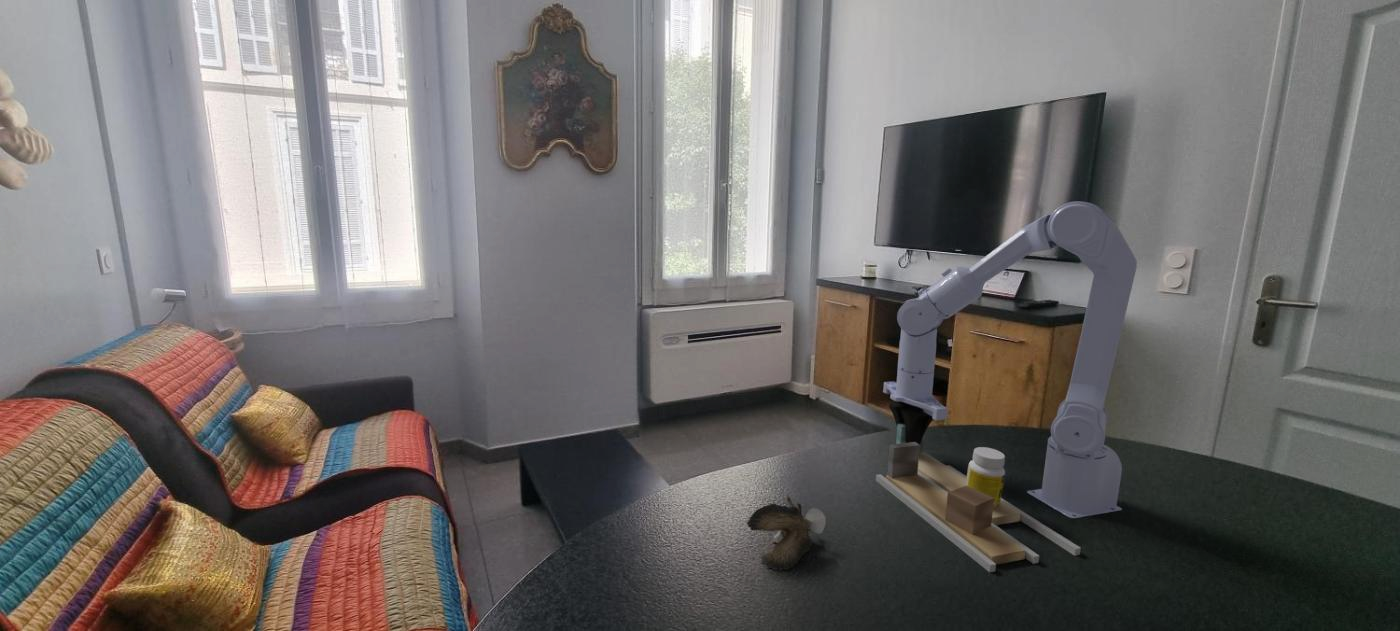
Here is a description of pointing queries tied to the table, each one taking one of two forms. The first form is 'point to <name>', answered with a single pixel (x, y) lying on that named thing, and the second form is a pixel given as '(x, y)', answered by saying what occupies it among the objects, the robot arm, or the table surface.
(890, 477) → the gray handled wooden slider
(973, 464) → the supplement bottle
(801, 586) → the table surface
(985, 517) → the walnut cube
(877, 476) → the lane board
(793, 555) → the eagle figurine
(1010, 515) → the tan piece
